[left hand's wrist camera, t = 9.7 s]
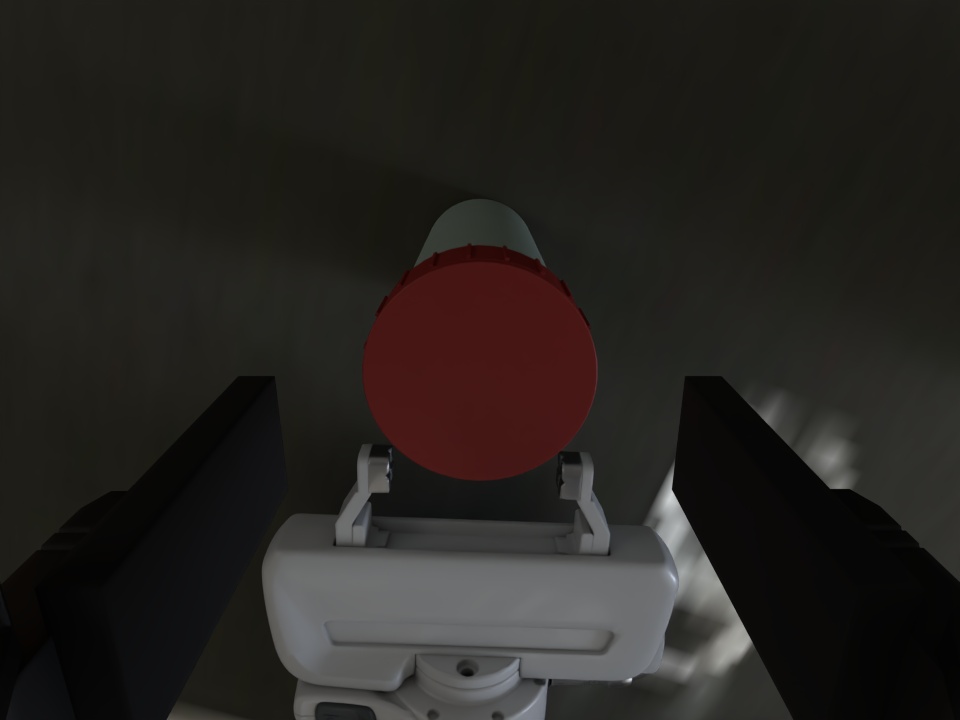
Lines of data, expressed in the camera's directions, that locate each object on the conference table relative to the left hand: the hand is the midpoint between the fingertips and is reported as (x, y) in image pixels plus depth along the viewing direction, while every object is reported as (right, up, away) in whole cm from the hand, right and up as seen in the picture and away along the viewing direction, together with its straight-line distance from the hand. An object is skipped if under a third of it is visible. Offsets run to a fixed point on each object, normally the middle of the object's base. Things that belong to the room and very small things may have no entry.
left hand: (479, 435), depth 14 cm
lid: (0, +1, +3) cm, 4 cm away
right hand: (0, -3, +16) cm, 17 cm away
